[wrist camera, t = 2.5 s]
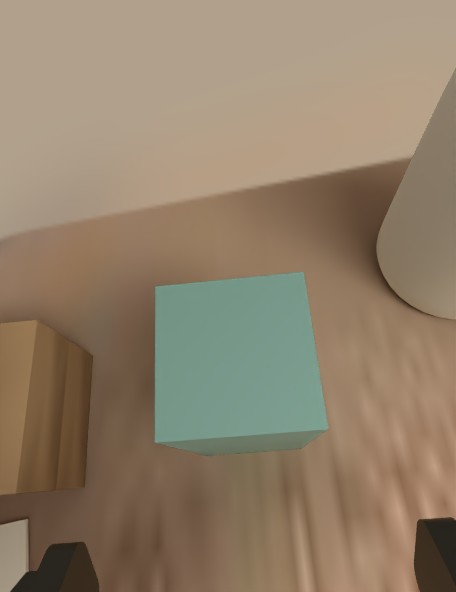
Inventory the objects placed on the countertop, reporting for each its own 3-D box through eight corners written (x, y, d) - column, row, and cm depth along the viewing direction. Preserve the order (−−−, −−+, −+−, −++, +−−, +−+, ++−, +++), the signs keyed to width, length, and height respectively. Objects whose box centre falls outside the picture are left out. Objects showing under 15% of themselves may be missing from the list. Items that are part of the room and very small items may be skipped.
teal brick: (288, 356, 21) (303, 271, 12) (300, 448, 20) (328, 429, 11) (202, 364, 22) (155, 286, 13) (206, 455, 20) (154, 443, 11)
